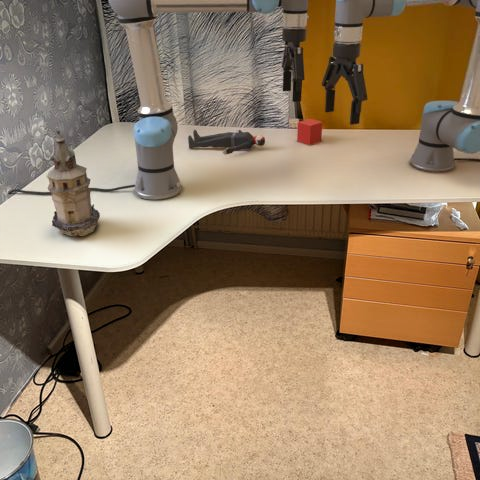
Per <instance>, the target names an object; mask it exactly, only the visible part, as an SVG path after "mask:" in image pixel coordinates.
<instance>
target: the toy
mask: <svg viewBox="0 0 480 480" xmlns="http://www.w3.org/2000/svg"><path fill="white" fill-rule="evenodd" d="M187 142H188V148H189V149H190V150H192V149H196V148H203V149H206V148H216V149H217V148H224V150H222V153H223V155H224V156H226V155H231V154H233V153H234V152H238V151H241V150H242V151H249V150H252V149H253V148H254V146H259V147H262V146H264V145H265V144H266V137H265V136H263V135H255V136H253V134H252V133H250V132H249V131H242V130H241V129H237V130H236V132H231V131H228V132H222V133H221V132H220V133H215V134H209V135H203V136H201V135H200V134H199V133H198V131H197V129H193V136H192V135H190V134H189V135H188V137H187Z"/></svg>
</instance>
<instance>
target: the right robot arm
mask: <svg viewBox="0 0 480 480" xmlns="http://www.w3.org/2000/svg"><path fill="white" fill-rule="evenodd" d="M436 4H444V5H445V6H446V7H451V6H452V7H453V6H459V7H466V8H472V9H475V12H474V18H475V20H476V22H477V27H476V31H475V35H474V39H473V43H472V48H471V52H470V56H469V60H468V64H467V69H466V73H465V77H464V80H463V85H462V89H461V92H460V97H459V101H456V100H455V101H454V100H433V101H428V102H427V103H425V105H424V107H423V111H422V113H421V122H420V132H419V137H418V143H417V145H416V147H415V150H414V151H413V154H412V155H411V157H410V162H409V164H410V166H411V167H413V168H414V169H416V170H418V171H422V172H426V173H433V174H435V173H436V174H440V173H448V172H451V171H453V170H454V169H455V164H456V161H471V162H480V158H470V157H455V155H454V153H455V152H454V149H456V151H458V152H462V153H465V154H467V155H473V154H477V153H479V152H480V0H335V14H334V30H333V41H334V43H333V45H332V56H329V58H328V63H327V67H326V70H325V73H324V75H323V79H322V81H321V87H324V90H325V105H324V113H332V112H335V101H336V100H335V99H336V85H337V84H338V82H339V80H340V79H341V77H342V78H344V80H345V81H346V82H347V84H348V87H349V91H350V94H351V96H352V100H351V105H350V114H349V115H350V117H349V125H358V124H360V121H361V120H360V119H361V112H362V105H363V102H364V101H367V100H369V99H368V93H367V86H366V81H365V80H366V79H365V75H364V64H363V63H357V59H358V58H359V57H360V56H361V46H362V43H361V41H362V39H363V25H364V19H369V18H385V17H386V18H387V17H388V18H390V17H395V16H399V15H401V14H402V13H403V11H404V10H405V8H406V7H417V6H427V5H436Z"/></svg>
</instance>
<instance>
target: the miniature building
mask: <svg viewBox="0 0 480 480" xmlns="http://www.w3.org/2000/svg"><path fill="white" fill-rule="evenodd" d="M56 134H57V136H56V138H55V140H54V141H55V142H56V147H55V154H54V156H52V157H51V161H52V162H53V165H54V167H53V168H51V169H50V170H49V171H48V173H47V174H46V178H47V179H48V182H49V184H48V186H47V190H48V192H51V193H52V194H51V200H52V201H53V205H54V209H55V211H53V217H52V220H51V223H52V225H51V227H54V228H56V229H58V230H59V231H60V234H63V235H64V234H65V235H66V236H69V237H77V236H80V237H83V236H87V235H88V234H90V233H93V232H94V231H95V229H96V226H97V225H98V223H99V220H100V216H101V213H100V212H99V210H98V209H96V208H95V204H92V201H91V200H92V199H91V198H92V197H91V192H92V190H90V189H89V188H90V184H91V178H89V177H88V174H87V167H85V166H84V165H83V166H82V165H80V164H77V160H76V154H75V151H74V150H70V149H69V147H68V145H67V143H66V138H65V137H64V136H63V135H61V130H60V129H56Z"/></svg>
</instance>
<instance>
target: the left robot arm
mask: <svg viewBox="0 0 480 480" xmlns="http://www.w3.org/2000/svg"><path fill="white" fill-rule="evenodd" d="M107 2H108V4H109V6H110V8H111V9H112V10H113V12H114V13H115V14H117V17H118V23H119V25H120V26H121V27H123V29H125V32H126V39H127V43H128V49H129V52H130V57H131V61H132V67H133V72H134V77H135V82H136V87H137V92H138V97H139V100H140V101H139V102H140V106H139V107H138V109H137V115H138V119H139V120H138V121H136V122H135V124H134V126H133V138H134V143H135V154H136V161H137V175H136V179H135V184H128V185H124V186H118V187H113V188H100V187H89V189H90V191H98V192H115V191H120V190H123V189H124V190H125V189H130V188H134V193H135V195H136V196H137V197H138V198H141V199H143V200H148V201H161V200H168V199H171V198H174V197H176V196H178V195H179V194H180V193H181V192H182V182H181V180H180V177H179V176H178V173H177V171H176V169H175V161H174V160H175V159H174V158H175V157H174V142H175V139H176V136H177V134H178V127H179V126H178V120H177V118H176V116H175V114H174V109H173V105H172V103H170V102H169V101H167V95H166V89H165V85H164V80H163V79H164V78H163V72H162V68H161V61H160V57H159V56H160V55H159V51H158V44H157V40H156V33H155V28H154V24H155V23H156V21H157V20H158V18H157V17H158V14H163V13H164V14H166V13H167V14H168V13H171V14H172V13H175V14H177V13H178V14H180V13H181V14H182V13H183V14H184V13H187V14H188V13H259V14H264V15H265V14H266V15H267V14H271V13H273V12H274V11H275V10H276V9H277V8H282V25H281V26H282V27H283V28H282V29H281V30H282V31H281V32H282V33H281V40H282V42H284V49H283V55H282V62H281V68H282V71H283V72H282V92H291V91H292V100H291V102H292V103H294V102H295V103H299V102H302V92H303V91H302V89H303V81H305V65H304V63H305V62H304V47H303V46H301V43H303V42H305V41H307V28H306V27H307V25H308V19H309V18H310V17H309V15H308V10H309V8H308V7H309V0H108V1H107ZM292 74H293V78H292ZM15 192H16V193H23V194H32V195H52V193H51V192H50V191H35V190H24V189H18V188H14V189H11V190H9V191H8V193H7V195H11V194H12V193H15Z"/></svg>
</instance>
